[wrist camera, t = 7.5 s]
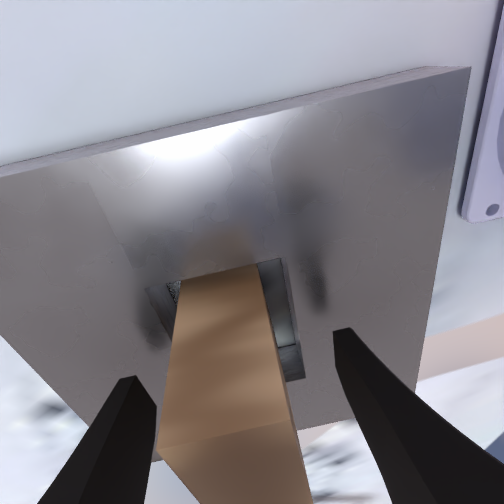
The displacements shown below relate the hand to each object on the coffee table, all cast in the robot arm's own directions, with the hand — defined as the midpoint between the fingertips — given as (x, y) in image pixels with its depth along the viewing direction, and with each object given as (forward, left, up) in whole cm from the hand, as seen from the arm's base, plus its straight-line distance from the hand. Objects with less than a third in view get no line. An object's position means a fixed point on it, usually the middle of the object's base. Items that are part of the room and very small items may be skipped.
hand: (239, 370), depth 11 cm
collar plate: (0, 0, -3) cm, 3 cm away
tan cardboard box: (0, 0, -3) cm, 4 cm away
